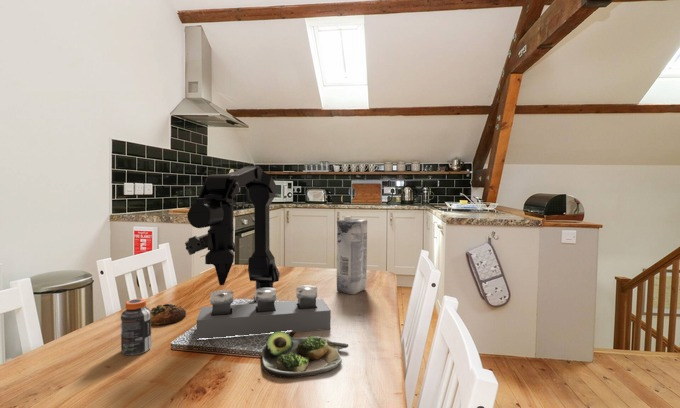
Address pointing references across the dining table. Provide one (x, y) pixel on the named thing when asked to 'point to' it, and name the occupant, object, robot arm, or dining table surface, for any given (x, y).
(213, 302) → the plunger
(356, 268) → the juice carton
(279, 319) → the console
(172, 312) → the bread roll
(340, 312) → the dining table surface
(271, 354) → the salad plate
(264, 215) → the robot arm
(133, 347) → the pill bottle
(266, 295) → the plunger middle
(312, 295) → the plunger
